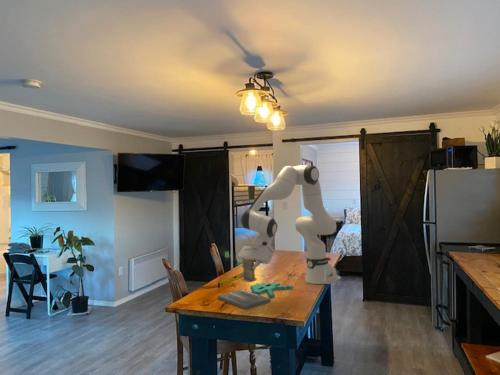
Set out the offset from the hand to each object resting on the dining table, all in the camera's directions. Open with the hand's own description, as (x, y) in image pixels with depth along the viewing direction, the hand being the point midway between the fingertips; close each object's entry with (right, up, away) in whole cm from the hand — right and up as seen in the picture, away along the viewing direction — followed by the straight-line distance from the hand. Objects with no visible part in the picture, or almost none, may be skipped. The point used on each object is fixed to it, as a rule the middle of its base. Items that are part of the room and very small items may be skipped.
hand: (247, 268), depth 182 cm
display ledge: (-2, -17, +3) cm, 18 cm away
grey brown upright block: (+1, -6, 0) cm, 6 cm away
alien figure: (+11, -17, +19) cm, 28 cm away
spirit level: (-8, -18, +43) cm, 47 cm away
